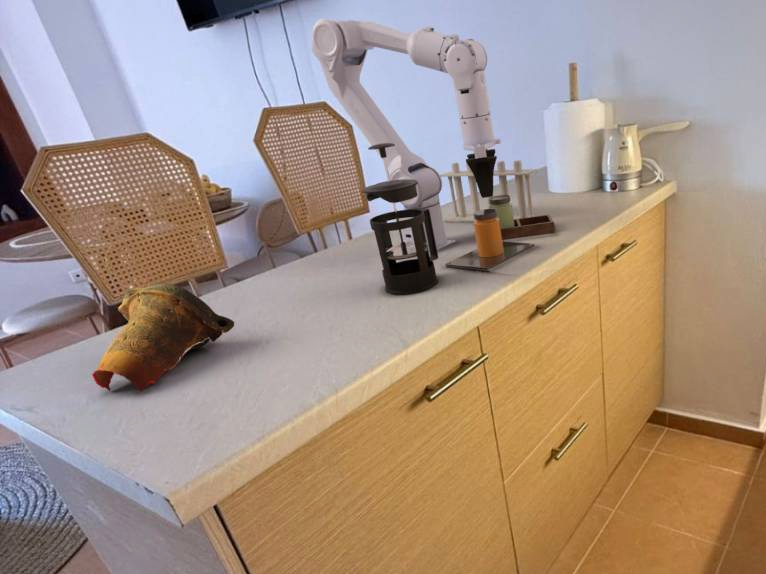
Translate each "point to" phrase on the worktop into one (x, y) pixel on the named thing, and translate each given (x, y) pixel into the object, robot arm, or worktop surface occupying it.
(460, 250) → the worktop surface
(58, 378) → the worktop surface
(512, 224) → the sage jar
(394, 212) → the french press
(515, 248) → the slate board
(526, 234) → the jar stand
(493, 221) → the honey jar
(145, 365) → the pot
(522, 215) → the test tube rack
